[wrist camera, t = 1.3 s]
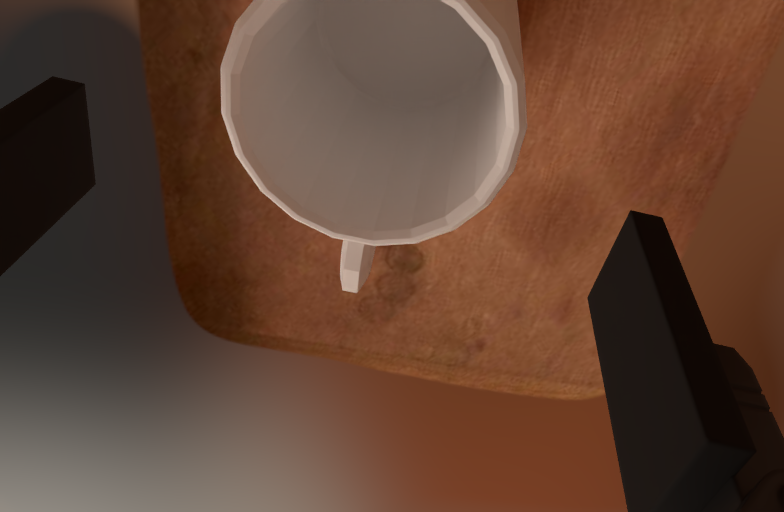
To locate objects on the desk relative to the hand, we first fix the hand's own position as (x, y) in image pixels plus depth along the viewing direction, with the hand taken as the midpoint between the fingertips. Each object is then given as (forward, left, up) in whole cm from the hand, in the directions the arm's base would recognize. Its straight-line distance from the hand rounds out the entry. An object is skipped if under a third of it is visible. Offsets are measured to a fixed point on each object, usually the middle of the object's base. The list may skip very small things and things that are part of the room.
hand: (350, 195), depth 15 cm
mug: (+1, 0, -12) cm, 12 cm away
